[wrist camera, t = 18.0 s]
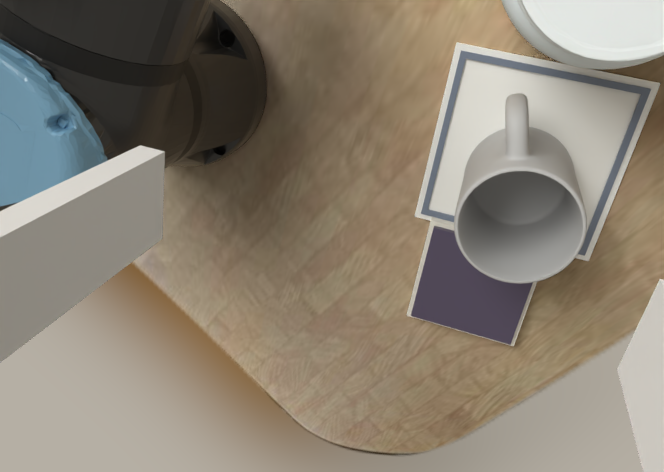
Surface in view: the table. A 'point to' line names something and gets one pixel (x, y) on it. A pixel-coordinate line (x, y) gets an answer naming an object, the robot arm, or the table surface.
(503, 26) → the table surface
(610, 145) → the print card
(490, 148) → the mug
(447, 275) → the ink pad
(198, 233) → the table surface
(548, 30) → the supplement tub
